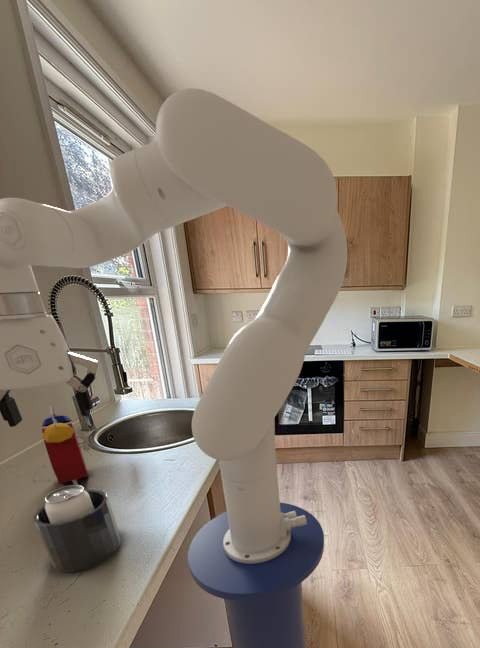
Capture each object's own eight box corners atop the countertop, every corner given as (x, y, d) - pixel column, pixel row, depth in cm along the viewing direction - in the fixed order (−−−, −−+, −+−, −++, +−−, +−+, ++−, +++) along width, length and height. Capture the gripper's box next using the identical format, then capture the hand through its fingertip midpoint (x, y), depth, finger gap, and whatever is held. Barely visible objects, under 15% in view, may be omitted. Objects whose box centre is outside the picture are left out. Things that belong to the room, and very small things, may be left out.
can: (91, 533, 69) (73, 480, 64) (112, 542, 66) (94, 488, 61) (56, 554, 63) (33, 498, 59) (77, 565, 61) (55, 508, 56)
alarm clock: (59, 471, 94) (33, 401, 86) (96, 462, 99) (75, 394, 91) (61, 495, 83) (32, 417, 75) (103, 483, 88) (79, 408, 80)
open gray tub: (124, 526, 71) (111, 484, 68) (116, 562, 62) (101, 516, 58) (62, 540, 68) (45, 497, 64) (44, 580, 59) (23, 532, 55)
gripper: (-84, 312, 44) (-26, 436, 51) (75, 304, 50) (109, 417, 56) (-51, 310, 50) (-4, 420, 57) (86, 303, 56) (115, 404, 63)
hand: (52, 418), depth 57 cm, fingers open, 9 cm apart
